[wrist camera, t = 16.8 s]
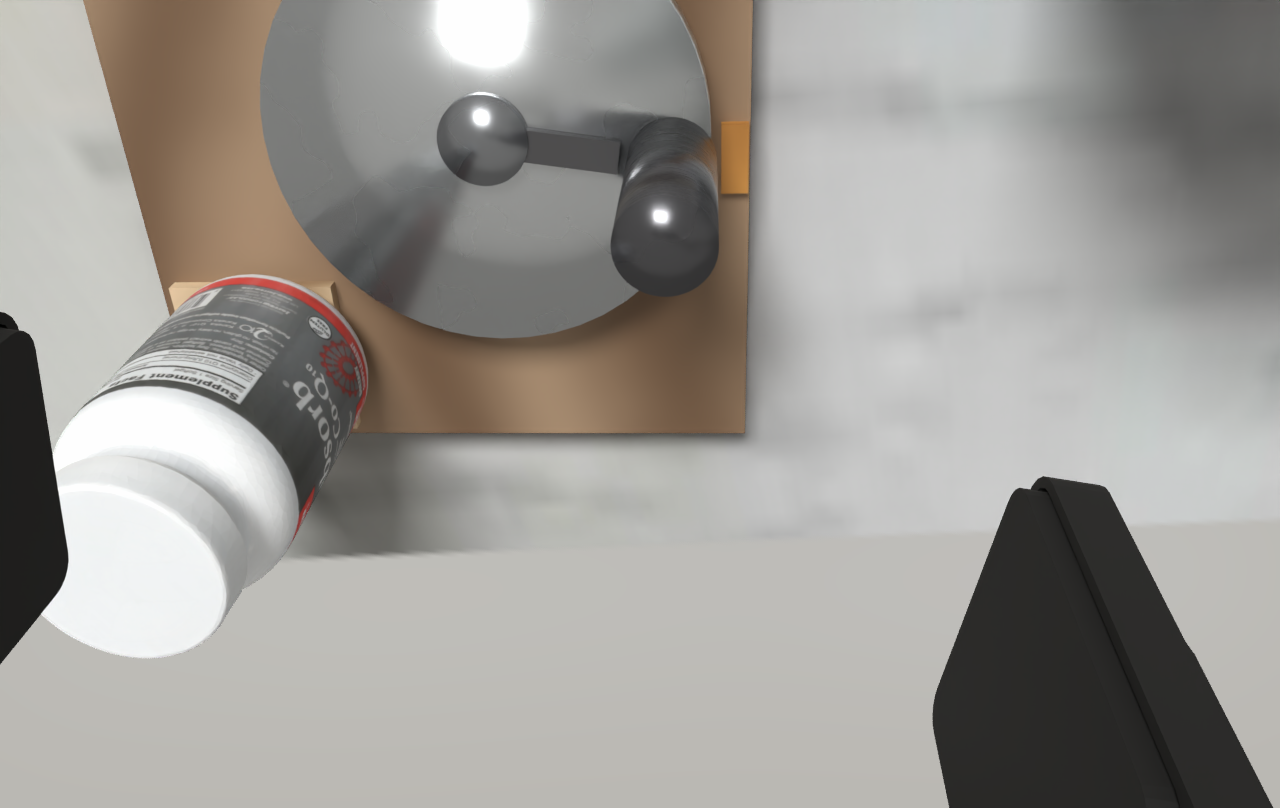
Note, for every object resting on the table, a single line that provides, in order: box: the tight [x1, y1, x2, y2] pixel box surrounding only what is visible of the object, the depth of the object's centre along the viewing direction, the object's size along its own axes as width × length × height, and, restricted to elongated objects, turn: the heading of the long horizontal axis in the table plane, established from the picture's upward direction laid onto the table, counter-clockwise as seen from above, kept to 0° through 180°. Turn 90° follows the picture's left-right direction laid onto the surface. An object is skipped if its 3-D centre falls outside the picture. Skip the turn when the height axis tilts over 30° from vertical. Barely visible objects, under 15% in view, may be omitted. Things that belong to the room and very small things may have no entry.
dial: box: [260, 0, 719, 338], centre depth 25 cm, size 11×11×6 cm
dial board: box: [83, 0, 753, 433], centre depth 30 cm, size 16×16×2 cm
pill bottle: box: [41, 274, 368, 658], centre depth 28 cm, size 6×6×10 cm
